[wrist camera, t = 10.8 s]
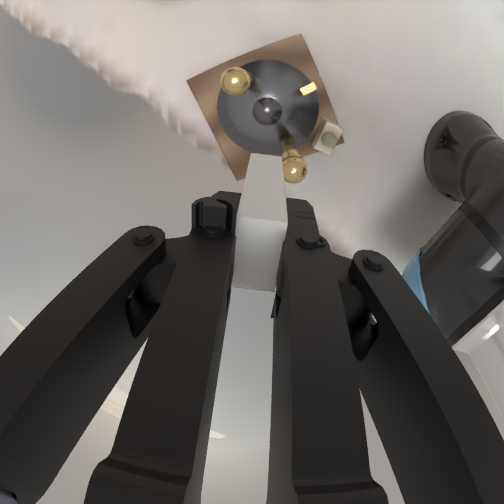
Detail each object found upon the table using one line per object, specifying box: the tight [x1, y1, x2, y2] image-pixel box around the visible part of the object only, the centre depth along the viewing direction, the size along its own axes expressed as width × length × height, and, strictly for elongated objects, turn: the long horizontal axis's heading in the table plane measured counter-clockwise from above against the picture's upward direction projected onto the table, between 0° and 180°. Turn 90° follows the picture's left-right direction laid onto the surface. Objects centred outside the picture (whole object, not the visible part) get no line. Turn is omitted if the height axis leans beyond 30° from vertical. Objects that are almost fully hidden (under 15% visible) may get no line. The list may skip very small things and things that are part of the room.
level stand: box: [187, 34, 344, 181], centre depth 36 cm, size 17×17×6 cm
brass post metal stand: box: [217, 59, 319, 184], centre depth 31 cm, size 13×13×14 cm
